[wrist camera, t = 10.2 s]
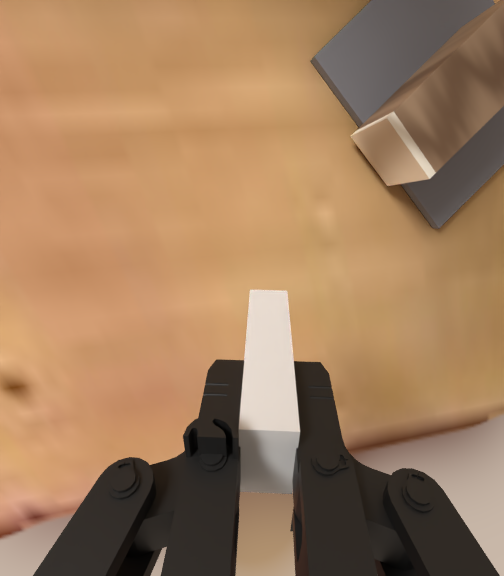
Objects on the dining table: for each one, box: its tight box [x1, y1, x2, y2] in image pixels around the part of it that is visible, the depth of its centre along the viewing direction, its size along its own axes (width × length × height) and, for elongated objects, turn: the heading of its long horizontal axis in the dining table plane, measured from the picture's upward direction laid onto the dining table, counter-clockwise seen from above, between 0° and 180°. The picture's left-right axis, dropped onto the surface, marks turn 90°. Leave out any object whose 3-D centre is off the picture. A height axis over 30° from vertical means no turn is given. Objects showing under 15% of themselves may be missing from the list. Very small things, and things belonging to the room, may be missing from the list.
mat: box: [311, 0, 504, 228], centre depth 28 cm, size 17×14×1 cm
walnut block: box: [350, 0, 504, 186], centre depth 25 cm, size 5×5×12 cm
